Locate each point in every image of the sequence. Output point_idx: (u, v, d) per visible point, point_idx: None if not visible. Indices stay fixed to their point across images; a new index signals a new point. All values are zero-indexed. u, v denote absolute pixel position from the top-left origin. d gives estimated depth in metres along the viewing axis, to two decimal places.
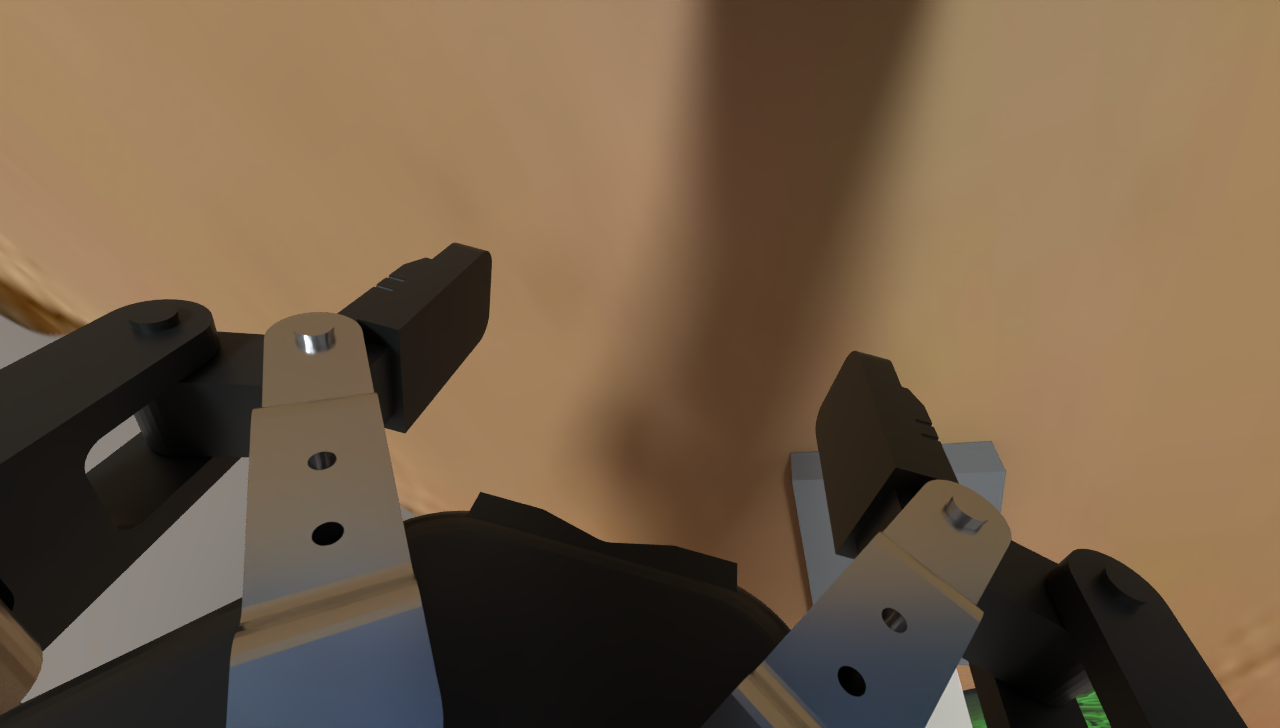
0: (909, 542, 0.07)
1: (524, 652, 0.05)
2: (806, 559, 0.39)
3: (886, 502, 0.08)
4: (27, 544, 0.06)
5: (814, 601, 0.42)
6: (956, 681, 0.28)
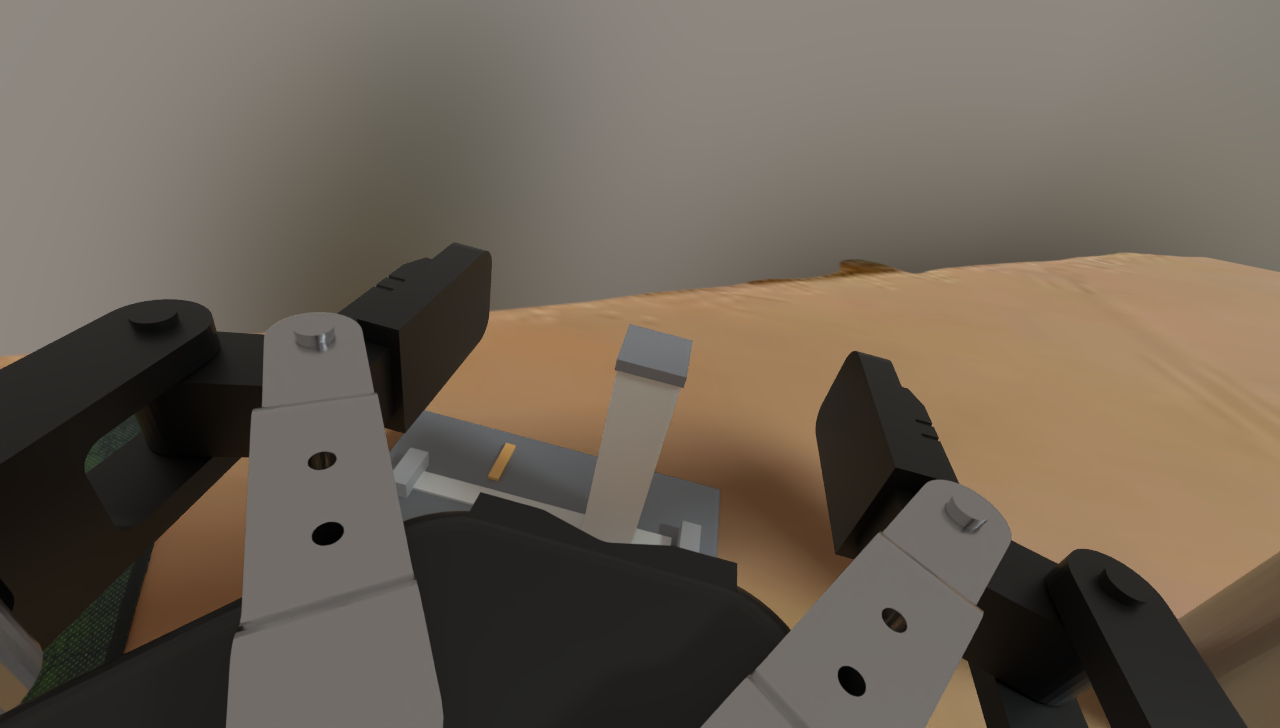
0: (909, 542, 0.07)
1: (524, 652, 0.05)
2: None
3: (886, 502, 0.08)
4: (27, 544, 0.06)
5: (534, 441, 0.38)
6: (661, 447, 0.27)
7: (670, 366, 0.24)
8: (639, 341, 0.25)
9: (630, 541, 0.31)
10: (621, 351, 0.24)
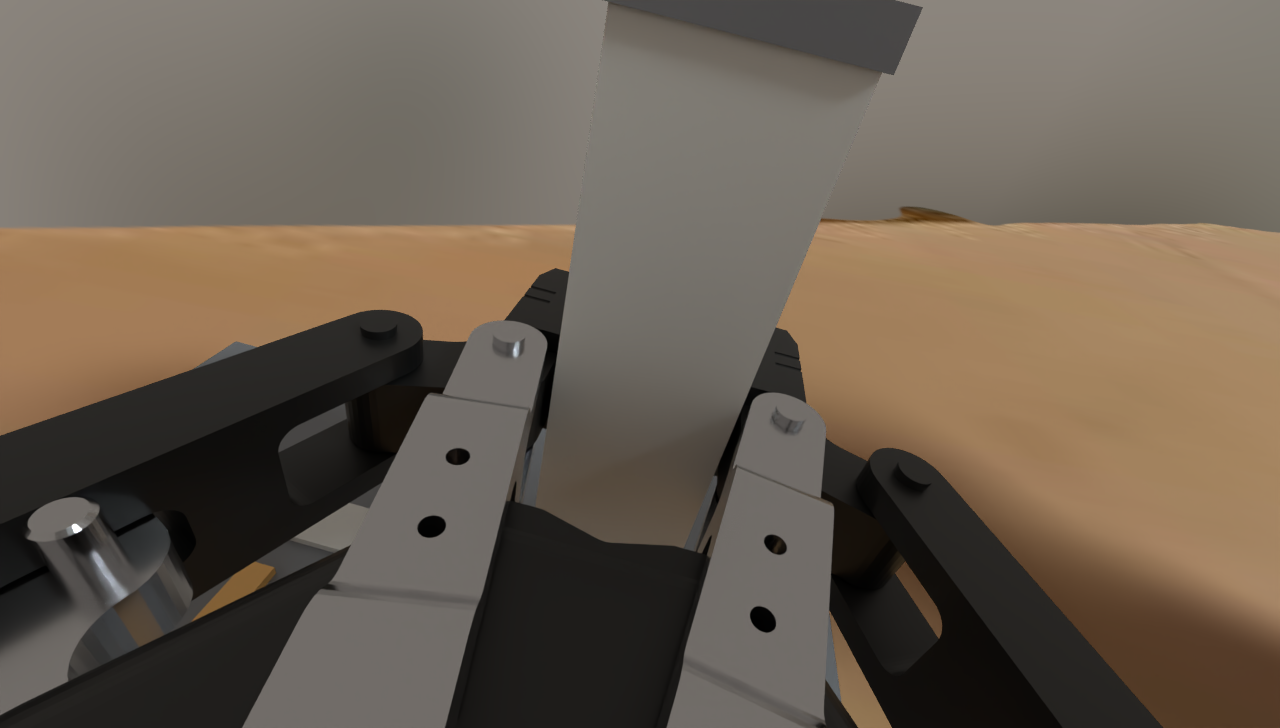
0: (757, 462, 0.07)
1: (524, 653, 0.05)
2: None
3: None
4: (217, 501, 0.06)
5: None
6: None
7: None
8: None
9: None
10: None
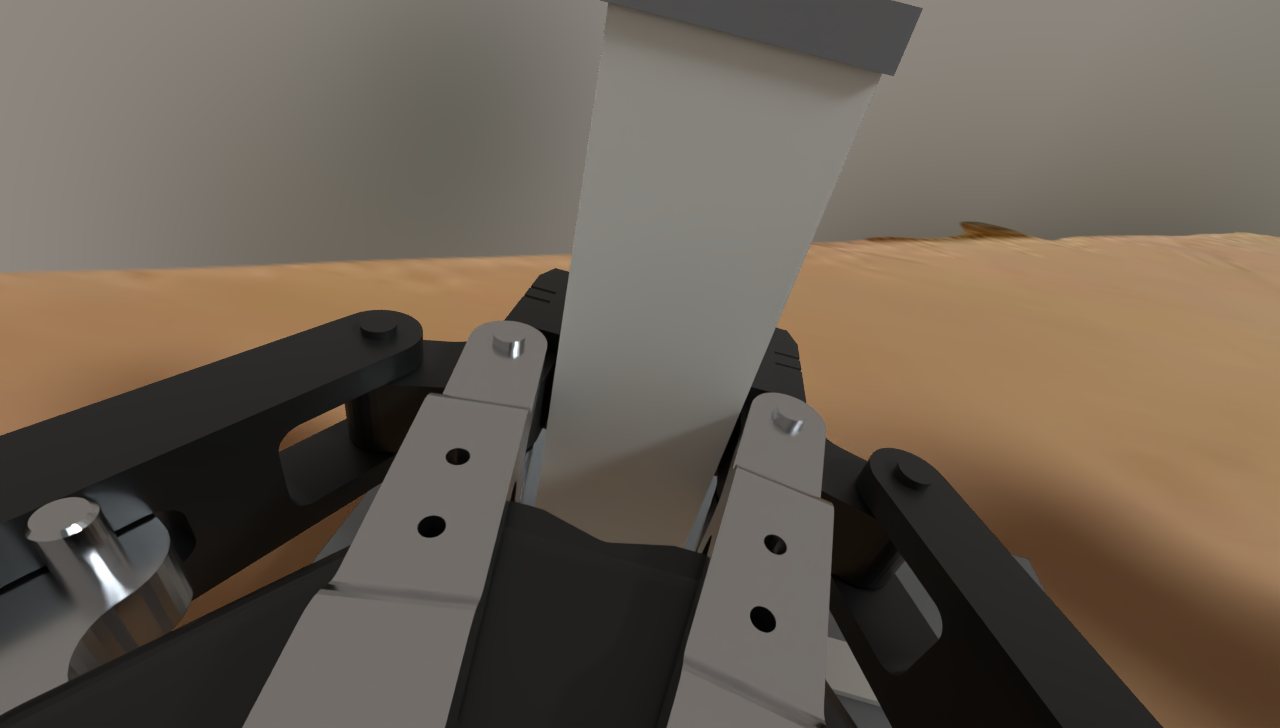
0: (757, 462, 0.07)
1: (524, 652, 0.05)
2: None
3: None
4: (217, 501, 0.06)
5: None
6: None
7: None
8: None
9: None
10: None
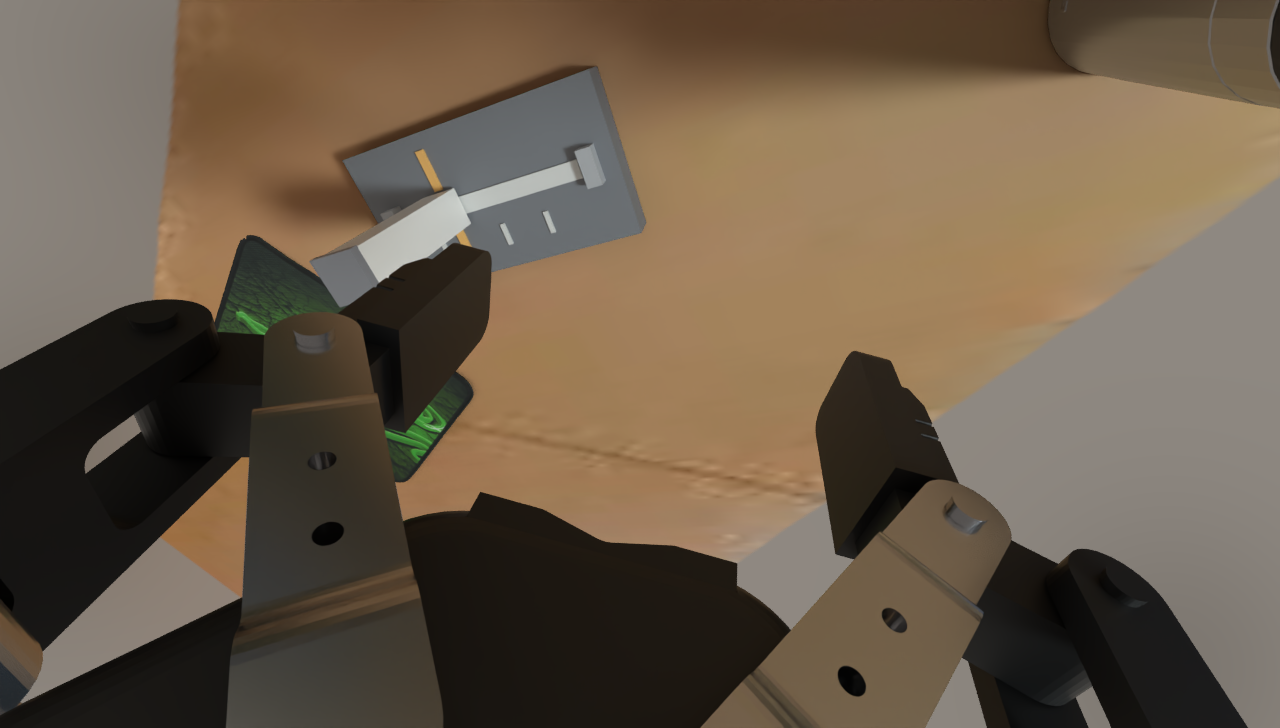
0: (909, 542, 0.07)
1: (524, 652, 0.05)
2: (486, 108, 0.39)
3: (886, 502, 0.08)
4: (27, 544, 0.06)
5: (427, 131, 0.41)
6: None
7: (364, 292, 0.33)
8: (331, 278, 0.33)
9: None
10: (334, 297, 0.34)
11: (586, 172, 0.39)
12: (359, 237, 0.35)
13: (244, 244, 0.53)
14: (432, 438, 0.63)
